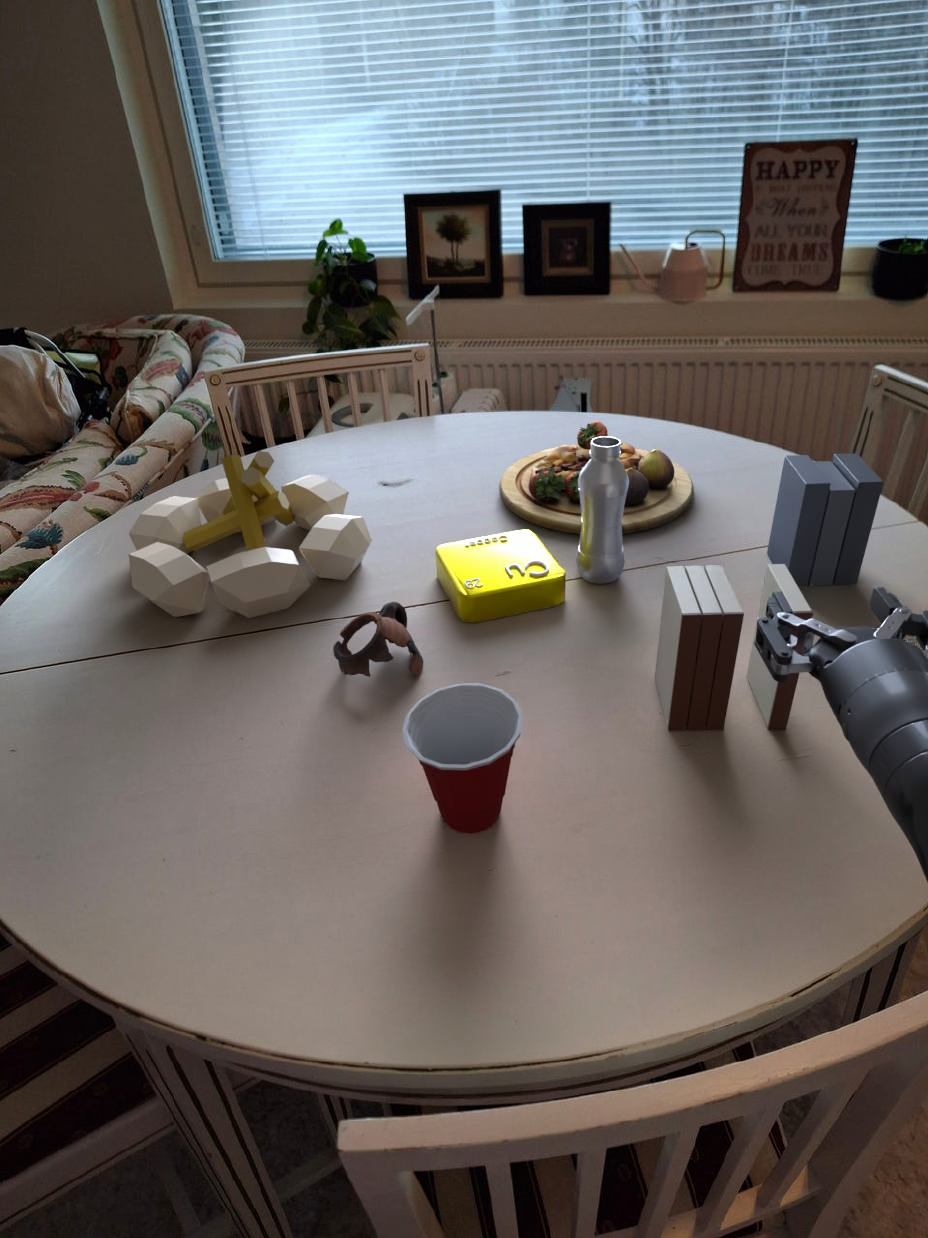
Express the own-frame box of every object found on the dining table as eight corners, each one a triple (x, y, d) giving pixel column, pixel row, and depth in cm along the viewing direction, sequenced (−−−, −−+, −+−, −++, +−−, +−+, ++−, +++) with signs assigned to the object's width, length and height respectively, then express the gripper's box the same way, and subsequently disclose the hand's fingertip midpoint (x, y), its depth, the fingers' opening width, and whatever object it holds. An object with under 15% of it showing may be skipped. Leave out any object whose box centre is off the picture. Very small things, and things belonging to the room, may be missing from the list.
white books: (705, 676, 93) (722, 564, 85) (723, 730, 85) (744, 614, 77) (654, 677, 93) (666, 566, 85) (668, 731, 86) (682, 615, 77)
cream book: (762, 675, 93) (785, 563, 84) (786, 730, 85) (813, 612, 77) (746, 675, 93) (767, 564, 84) (768, 730, 85) (794, 613, 77)
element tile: (531, 552, 119) (531, 523, 116) (570, 604, 107) (571, 573, 104) (433, 571, 116) (431, 541, 113) (462, 626, 104) (460, 595, 101)
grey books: (833, 551, 115) (857, 452, 106) (856, 584, 107) (883, 481, 99) (766, 553, 115) (784, 455, 107) (785, 586, 108) (806, 483, 100)
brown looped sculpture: (420, 697, 93) (378, 656, 88) (358, 712, 98) (315, 673, 93) (440, 619, 101) (402, 577, 96) (382, 636, 106) (343, 597, 101)
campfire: (397, 588, 112) (384, 476, 103) (146, 653, 103) (106, 536, 93) (332, 493, 139) (317, 397, 130) (129, 537, 130) (96, 436, 120)
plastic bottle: (618, 592, 109) (628, 453, 98) (569, 585, 111) (573, 448, 100) (627, 569, 114) (637, 434, 102) (580, 562, 116) (585, 430, 105)
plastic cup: (396, 795, 80) (383, 703, 73) (493, 759, 84) (489, 668, 77) (439, 874, 72) (429, 779, 65) (545, 831, 75) (545, 736, 69)
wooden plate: (531, 447, 152) (531, 405, 147) (705, 465, 141) (710, 420, 137) (471, 523, 127) (469, 475, 123) (675, 551, 117) (681, 499, 112)
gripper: (1018, 668, 54) (918, 556, 68) (801, 676, 56) (746, 564, 69) (989, 752, 58) (900, 630, 72) (787, 757, 60) (737, 636, 73)
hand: (824, 598), depth 71 cm, fingers open, 8 cm apart
